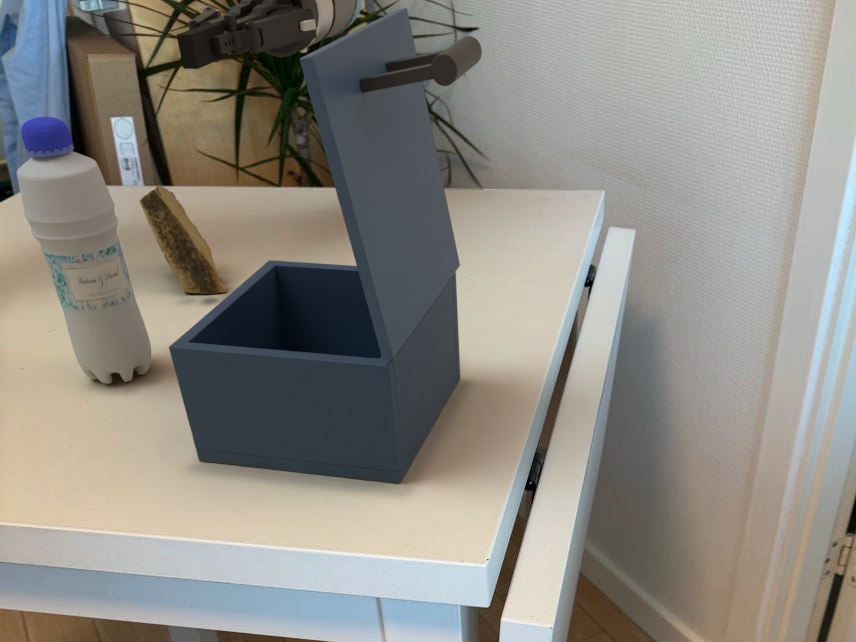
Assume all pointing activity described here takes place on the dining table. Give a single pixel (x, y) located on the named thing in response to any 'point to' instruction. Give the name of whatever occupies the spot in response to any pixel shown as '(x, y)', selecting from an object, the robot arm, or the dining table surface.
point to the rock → (181, 243)
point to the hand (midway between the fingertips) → (187, 51)
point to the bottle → (82, 252)
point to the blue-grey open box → (314, 376)
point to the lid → (388, 165)
